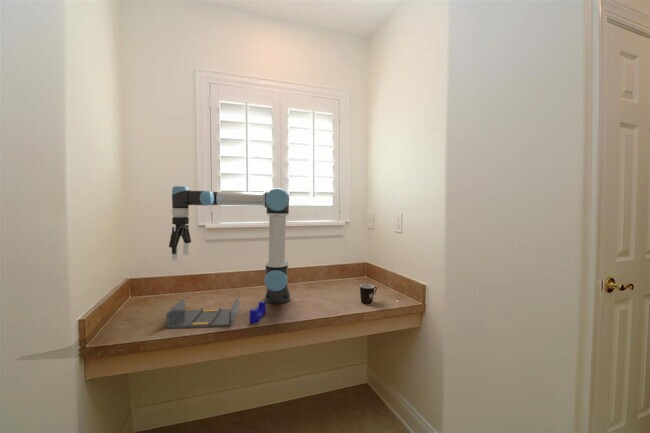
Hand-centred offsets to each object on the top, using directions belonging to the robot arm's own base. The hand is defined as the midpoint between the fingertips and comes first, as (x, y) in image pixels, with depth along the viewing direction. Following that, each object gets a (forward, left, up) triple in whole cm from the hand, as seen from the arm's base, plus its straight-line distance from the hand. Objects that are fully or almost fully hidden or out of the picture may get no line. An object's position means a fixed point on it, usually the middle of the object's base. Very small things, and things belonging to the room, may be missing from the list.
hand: (180, 257), depth 141 cm
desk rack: (-16, +12, -28) cm, 34 cm away
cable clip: (-40, +12, -28) cm, 50 cm away
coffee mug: (-102, -4, -28) cm, 106 cm away
